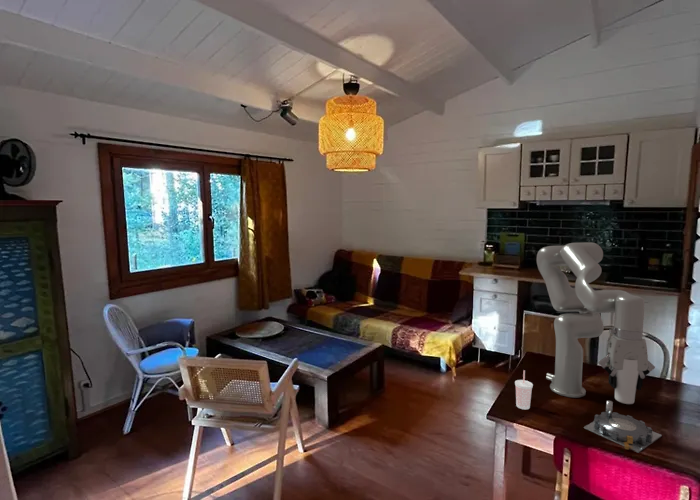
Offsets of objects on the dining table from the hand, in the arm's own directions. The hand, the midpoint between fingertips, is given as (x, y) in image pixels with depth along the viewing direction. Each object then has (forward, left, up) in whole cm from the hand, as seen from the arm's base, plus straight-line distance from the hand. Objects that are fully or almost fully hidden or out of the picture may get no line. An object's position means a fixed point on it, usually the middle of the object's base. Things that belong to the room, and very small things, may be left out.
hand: (625, 387), depth 127 cm
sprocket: (0, 0, -16) cm, 16 cm away
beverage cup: (-28, -12, -16) cm, 34 cm away
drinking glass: (0, 0, -5) cm, 5 cm away
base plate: (0, 0, -16) cm, 16 cm away
